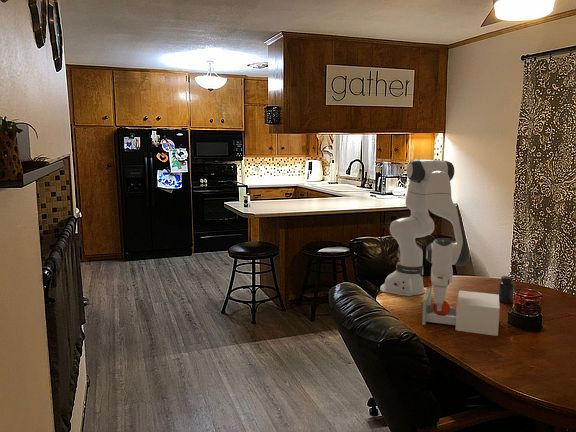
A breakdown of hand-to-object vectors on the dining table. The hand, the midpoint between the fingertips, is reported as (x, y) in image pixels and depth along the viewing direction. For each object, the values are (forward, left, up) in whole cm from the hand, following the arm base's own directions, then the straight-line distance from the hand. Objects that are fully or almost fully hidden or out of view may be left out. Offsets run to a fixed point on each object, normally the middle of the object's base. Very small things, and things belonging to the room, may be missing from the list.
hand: (440, 307), depth 204 cm
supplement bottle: (+27, +36, -6) cm, 45 cm away
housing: (+15, 0, -6) cm, 16 cm away
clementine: (0, 0, -4) cm, 4 cm away
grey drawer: (0, 0, -5) cm, 5 cm away
